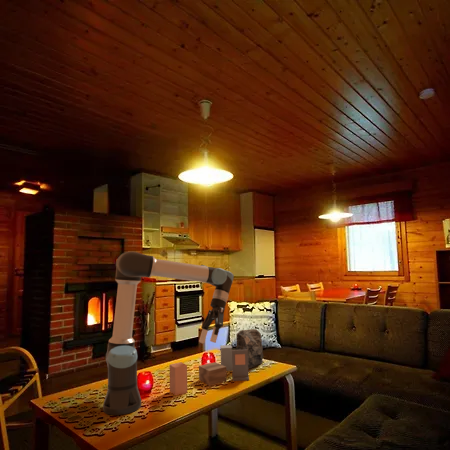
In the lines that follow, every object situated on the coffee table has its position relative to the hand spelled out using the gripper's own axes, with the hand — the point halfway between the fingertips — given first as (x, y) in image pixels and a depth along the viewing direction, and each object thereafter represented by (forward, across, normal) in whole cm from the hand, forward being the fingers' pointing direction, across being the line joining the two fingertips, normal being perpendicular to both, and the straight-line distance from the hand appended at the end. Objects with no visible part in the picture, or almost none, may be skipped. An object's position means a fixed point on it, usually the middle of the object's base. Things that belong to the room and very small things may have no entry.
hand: (206, 342), depth 164 cm
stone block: (0, +22, -39) cm, 44 cm away
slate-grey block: (+5, +24, -25) cm, 35 cm away
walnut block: (+14, +12, -14) cm, 23 cm away
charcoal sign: (+10, +6, -26) cm, 28 cm away
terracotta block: (+24, +7, +4) cm, 25 cm away
